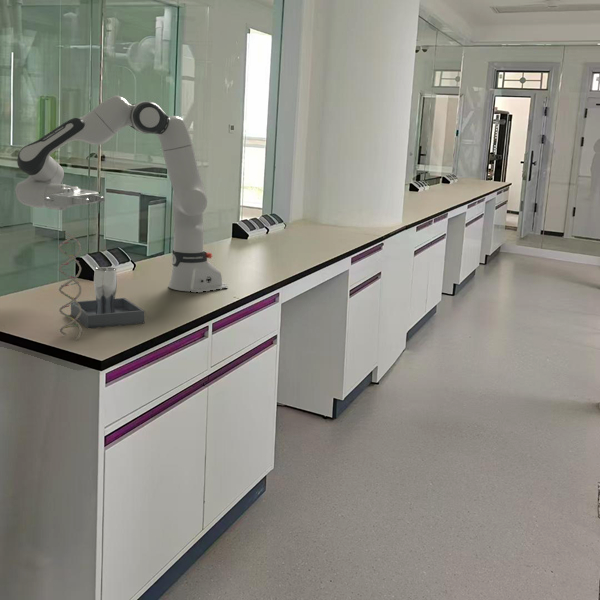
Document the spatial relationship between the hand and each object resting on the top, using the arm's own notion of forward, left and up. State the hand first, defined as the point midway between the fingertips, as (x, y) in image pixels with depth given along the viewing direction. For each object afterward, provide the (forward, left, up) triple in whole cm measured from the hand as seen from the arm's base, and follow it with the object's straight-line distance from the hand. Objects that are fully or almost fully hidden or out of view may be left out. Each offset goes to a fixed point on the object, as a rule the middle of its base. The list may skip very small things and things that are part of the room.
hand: (95, 200), depth 244 cm
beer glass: (+5, +26, -33) cm, 42 cm away
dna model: (+21, +41, -34) cm, 57 cm away
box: (+5, +25, -34) cm, 43 cm away
